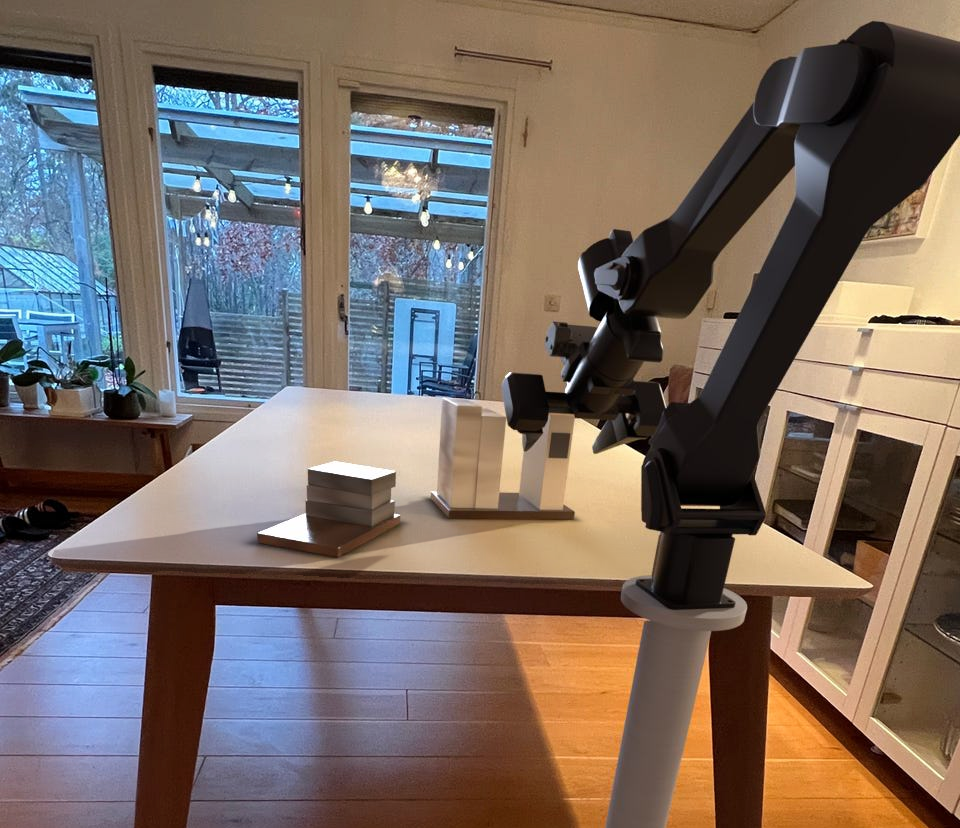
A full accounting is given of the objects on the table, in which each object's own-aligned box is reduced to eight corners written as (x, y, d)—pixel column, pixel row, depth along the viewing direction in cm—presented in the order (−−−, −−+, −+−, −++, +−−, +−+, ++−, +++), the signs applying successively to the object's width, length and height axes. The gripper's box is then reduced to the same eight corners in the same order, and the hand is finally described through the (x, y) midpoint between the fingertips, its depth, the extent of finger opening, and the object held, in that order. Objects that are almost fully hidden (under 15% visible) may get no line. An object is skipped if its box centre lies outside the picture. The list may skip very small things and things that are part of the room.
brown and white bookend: (574, 519, 91) (588, 413, 86) (448, 518, 87) (455, 406, 81) (545, 500, 100) (557, 403, 95) (430, 498, 95) (436, 396, 90)
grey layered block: (400, 523, 83) (402, 470, 80) (338, 557, 70) (338, 495, 67) (330, 511, 85) (330, 459, 83) (257, 542, 72) (254, 481, 69)
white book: (563, 510, 91) (576, 412, 86) (540, 510, 90) (551, 411, 85) (540, 495, 98) (551, 403, 93) (518, 494, 97) (528, 402, 92)
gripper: (675, 305, 79) (615, 399, 93) (515, 289, 73) (477, 391, 87) (699, 388, 75) (633, 472, 89) (533, 377, 70) (490, 469, 84)
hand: (559, 449), depth 87 cm, fingers open, 9 cm apart
